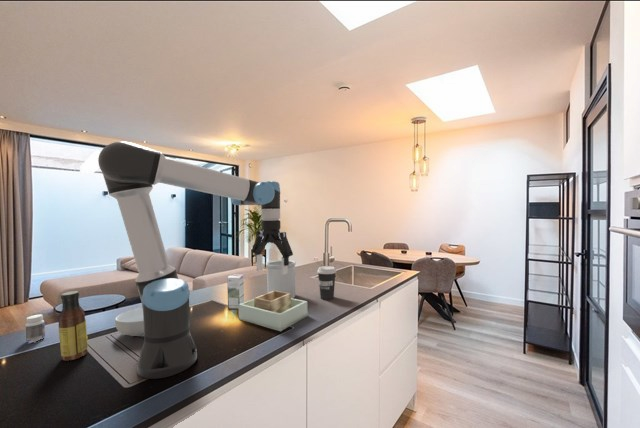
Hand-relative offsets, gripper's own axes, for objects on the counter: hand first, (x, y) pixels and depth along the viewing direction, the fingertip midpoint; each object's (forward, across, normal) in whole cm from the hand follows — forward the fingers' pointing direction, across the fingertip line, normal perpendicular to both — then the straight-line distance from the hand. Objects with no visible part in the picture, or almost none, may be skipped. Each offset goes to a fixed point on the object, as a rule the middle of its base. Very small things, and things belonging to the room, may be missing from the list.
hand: (271, 271), depth 114 cm
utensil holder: (+19, +15, -23) cm, 33 cm away
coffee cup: (+19, -6, -33) cm, 38 cm away
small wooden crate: (+18, 0, 0) cm, 18 cm away
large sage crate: (+19, 0, 0) cm, 19 cm away
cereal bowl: (+19, +32, +34) cm, 50 cm away
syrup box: (+19, +23, -1) cm, 30 cm away
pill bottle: (+19, +58, +57) cm, 84 cm away
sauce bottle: (+19, +32, +54) cm, 66 cm away
